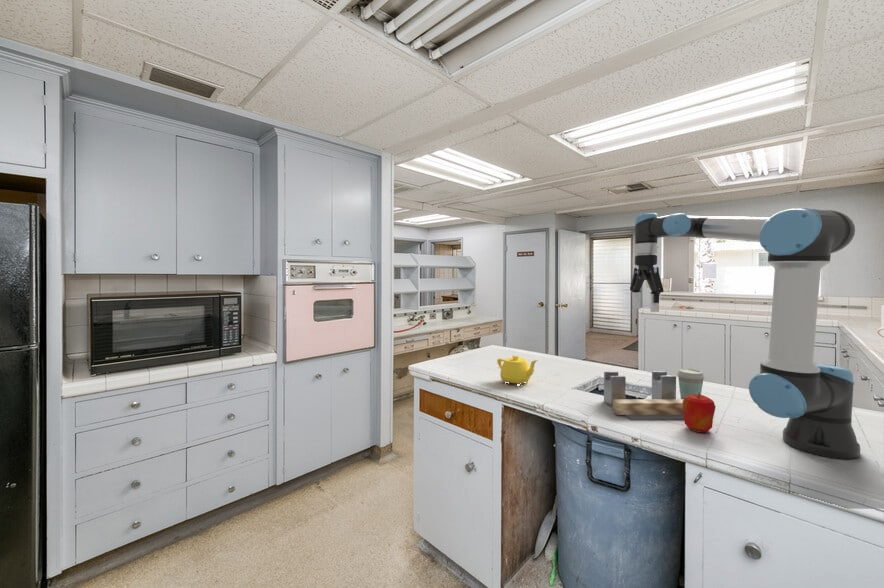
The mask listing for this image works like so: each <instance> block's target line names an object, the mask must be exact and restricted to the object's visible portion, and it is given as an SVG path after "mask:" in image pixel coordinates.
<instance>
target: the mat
mask: <svg viewBox="0 0 884 588" xmlns="http://www.w3.org/2000/svg"><path fill="white" fill-rule="evenodd" d="M624 416H625V417H626V418H627V419H628V420H630V421H684V415H624Z"/></svg>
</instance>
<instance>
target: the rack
mask: <svg viewBox="0 0 884 588" xmlns="http://www.w3.org/2000/svg"><path fill="white" fill-rule="evenodd" d="M626 381H627V380H626V375H619V371H603V402H604V401H605V402H606V403H605V402H604V403H605V404H606V405H608V406H609V408H611V407H612V406H613V399H626V386H627V385H626ZM651 399H677V375H668V372H667V371H665V370H664V371H655V370H654V371H651Z"/></svg>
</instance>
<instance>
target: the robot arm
mask: <svg viewBox="0 0 884 588" xmlns="http://www.w3.org/2000/svg"><path fill="white" fill-rule="evenodd" d="M855 227H856V226H855V223H854V222H853V220H852V219H851V218H850V216H848V215H846V214H845V213H842V212H840V211H838V210H837V211H836V210H833V209H832V210H831V209H830V210H829V209H814V208H806V207H802V208H799V207H797V208H789V209H785V210H781V211H778V212H777V213H775V214H773V215H772V216H770V217H768V216H767V217H764V216H762V217H760V216H759V217H758V216H757V217H756V216H752V217H751V216H706V215H704V216H703V215H701V216H700V215H687V214H686V213H682V212H681V213H671V214H668V215H663V216H658V213H656V212H647V213H640V214H637V215H636V217H635V223H634V231H635V232H634V243H635V244H634V254H635V256H634V265H635V266H638V267H634V268H633V275H632V279H631V283H630V287H629V290H630V291H632V309H635V310H637V309H641V307H642V306H641V304H642V303H641V298H642V297H641V295H642V293H641V292H642V290H641V289H642V287H643V284H644V282H645V281H646V282H647V285H648V287H649V289H650V307H649V308H650V309H649V310H650V311H649V312H650V313H659V312H660V294H662V293H664V287H663V283H662V280H661V276H660V270H659V269H660V268H659V266H655V265H658V255H657V253H658V248H659V246H658V240H659V238H668V237H672V238H673V237H675V238H677V237H678V238H679V237H680V238H681V237H682V238H701V239H704V238H705V239H716V240H717V239H718V240H730V241H743V242H756V243H759V244H760V246H761V248H763V249H764V251H765V252H767V253H768V254H767V264H769V265H770V266H772V267H773V268H774V274H773V275H774V277H773V279H774V280H773V287H772V289H773V290H772V291H773V292H772V302H771V303H772V306H771V317H770V318H771V319H770V334H769V345H768V346H769V347H768V356H767V357H765V358H764V359H762V360H761V361H760V366H759V373H758V374H756V375H755V376H754V377H752V378H751V379H750V381H749V384H748V392H749V395H750V398H751V399H752V401H753V402H754V404H756V405H757V407H758V408H759V409H760V410H762V412H764V413H766V414H768V415H770V416H772V417H774V418H775V417H776V418H778V419H779V418H780V419H788V420H787V423H786V426H785V427H784V428H783V430H782V441H784V442H785V443H786V444H788V445H789V446H792V447H793V448H795V449H798V450H801V451H803V452H807V453H810V454H814V455H816V456H821V457H828V458H832V459H833V458H834V459H839V460H841V459H842V460H854V459H858V458H860V457H861V444H860V443H859V442H858V441H857V440H858V439H857V436H856V433H855V430H854V427H853V425H852V424H853V423H852V421H853V420H852V419H853V418H852V417H853V400H854V399H853V398H854V395H853V394H854V385H855V382H854V374H853V372H852V371H851V370H849V369H847V368H844V367H840V366H834V365H828V364H822V363H816V362H814V351H815V341H816V340H815V339H816V329H817V327H816V326H817V317H818V305H819V294H820V293H819V292H820V281H821V270H822V269H823V268H824V267H825V266H826V265H828V264H830V263H831V254H834V253H837V252H839V251H841V250H843V249H844V248H846V247H847V246H848V245H849V244H850V243H851V242H852V241H853V239H854V237H855V235H856V228H855Z"/></svg>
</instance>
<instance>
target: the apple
mask: <svg viewBox="0 0 884 588" xmlns="http://www.w3.org/2000/svg"><path fill="white" fill-rule="evenodd" d="M682 403H683V412H684V420H683V421H684V424H685V426H686V427H687V428H689V429H690V430H692V431H694V432H697V433H707V432H709V431H710V430H712V428H713V422H714V416H715V412H716V404H715V400H713V399H711V398H710V397H708V396H707V395H703V394H701V395H700V393H699V394H694V395H688V396H686V397H685V398H684V400H683V401H682Z"/></svg>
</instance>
